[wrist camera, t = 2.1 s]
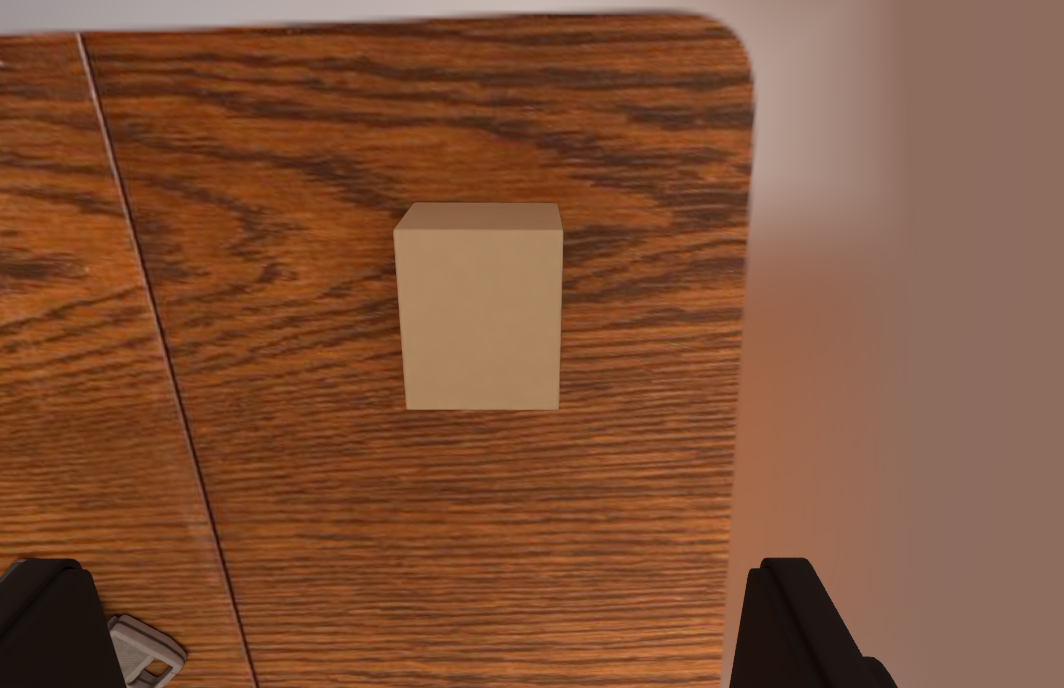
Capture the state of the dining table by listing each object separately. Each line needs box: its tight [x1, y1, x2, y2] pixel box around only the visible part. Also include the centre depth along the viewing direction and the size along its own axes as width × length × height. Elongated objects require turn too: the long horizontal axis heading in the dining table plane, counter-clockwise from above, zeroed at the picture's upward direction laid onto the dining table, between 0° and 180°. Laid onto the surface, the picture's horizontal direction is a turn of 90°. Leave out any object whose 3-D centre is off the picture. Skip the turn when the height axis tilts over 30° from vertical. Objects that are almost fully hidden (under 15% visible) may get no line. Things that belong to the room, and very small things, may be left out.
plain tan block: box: [393, 202, 563, 410], centre depth 23 cm, size 5×6×4 cm
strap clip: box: [0, 559, 187, 688], centre depth 29 cm, size 8×3×4 cm, turn 46°
